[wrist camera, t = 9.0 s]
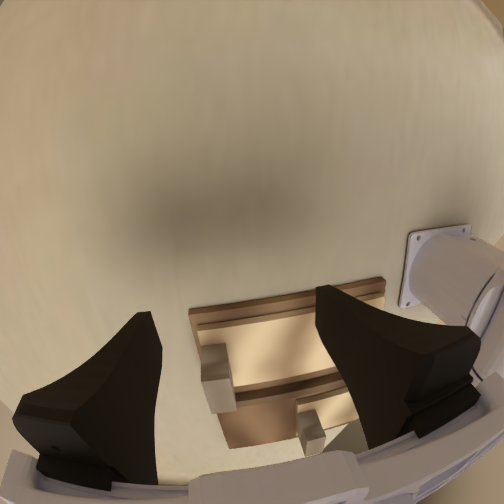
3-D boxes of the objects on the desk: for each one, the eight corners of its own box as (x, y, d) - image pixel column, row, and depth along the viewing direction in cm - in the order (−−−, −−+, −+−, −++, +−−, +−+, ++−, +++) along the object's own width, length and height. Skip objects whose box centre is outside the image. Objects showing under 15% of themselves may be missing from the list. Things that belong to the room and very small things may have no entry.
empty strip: (380, 291, 23) (410, 320, 19) (370, 350, 26) (392, 381, 21) (197, 325, 22) (196, 367, 17) (212, 383, 24) (215, 423, 20)
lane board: (381, 276, 24) (393, 286, 22) (352, 416, 32) (357, 427, 30) (189, 309, 22) (187, 324, 20) (228, 444, 30) (230, 456, 28)
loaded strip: (417, 361, 28) (437, 385, 24) (403, 395, 31) (419, 419, 27) (295, 400, 27) (307, 434, 22) (294, 431, 29) (304, 461, 25)
